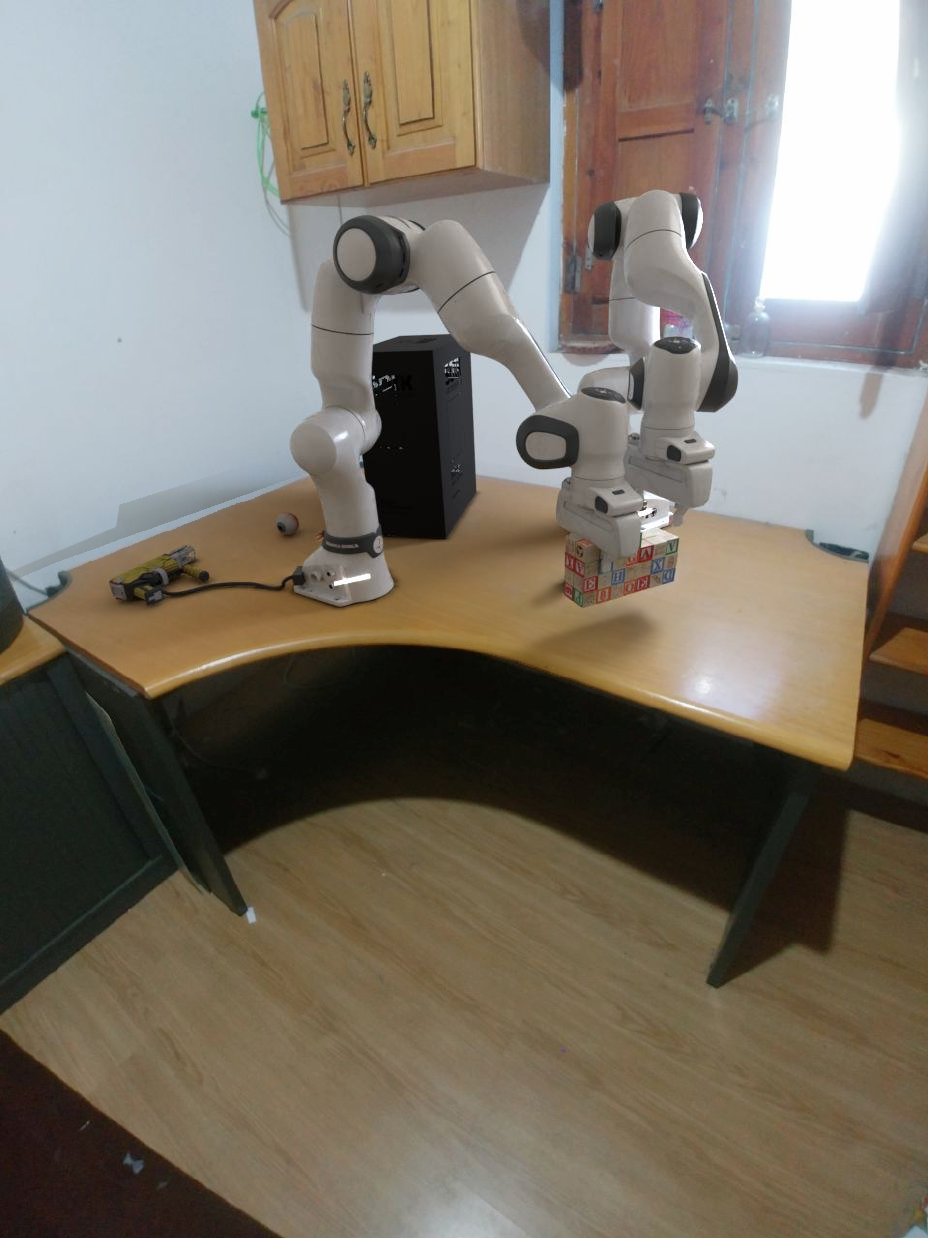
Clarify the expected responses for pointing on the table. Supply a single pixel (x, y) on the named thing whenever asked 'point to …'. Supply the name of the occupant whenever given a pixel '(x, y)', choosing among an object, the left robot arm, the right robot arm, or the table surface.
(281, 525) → the eyeball
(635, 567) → the stack of blocks
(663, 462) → the right robot arm
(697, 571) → the table surface
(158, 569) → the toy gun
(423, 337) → the black computer case
